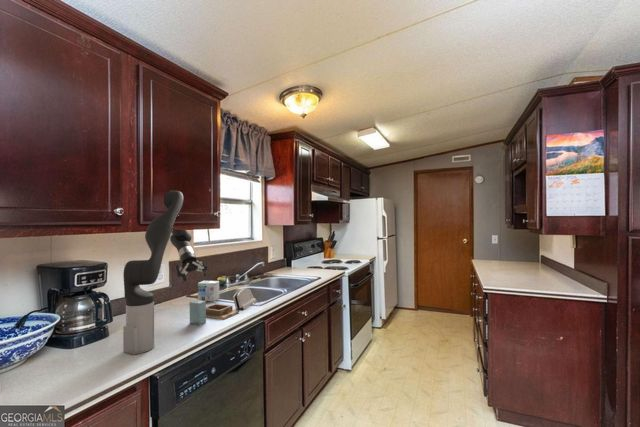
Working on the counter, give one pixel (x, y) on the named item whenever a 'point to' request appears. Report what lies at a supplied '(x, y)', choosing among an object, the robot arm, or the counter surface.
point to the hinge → (243, 299)
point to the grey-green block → (197, 312)
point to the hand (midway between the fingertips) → (195, 278)
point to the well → (220, 311)
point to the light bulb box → (208, 290)
